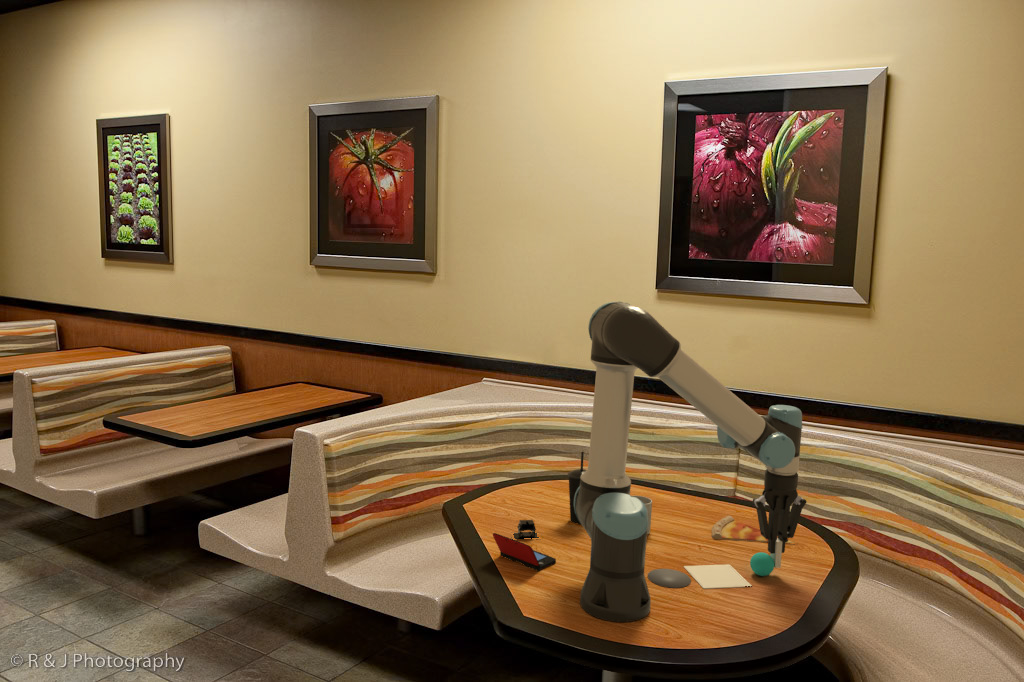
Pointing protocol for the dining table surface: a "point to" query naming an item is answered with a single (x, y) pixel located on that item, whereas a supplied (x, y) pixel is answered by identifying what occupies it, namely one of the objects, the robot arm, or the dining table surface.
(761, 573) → the ball
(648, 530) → the cup
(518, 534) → the black boxy piece
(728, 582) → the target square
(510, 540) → the handheld game console
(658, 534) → the dining table surface
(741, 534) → the pizza slice
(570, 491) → the drinking cup
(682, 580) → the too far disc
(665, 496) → the dining table surface
